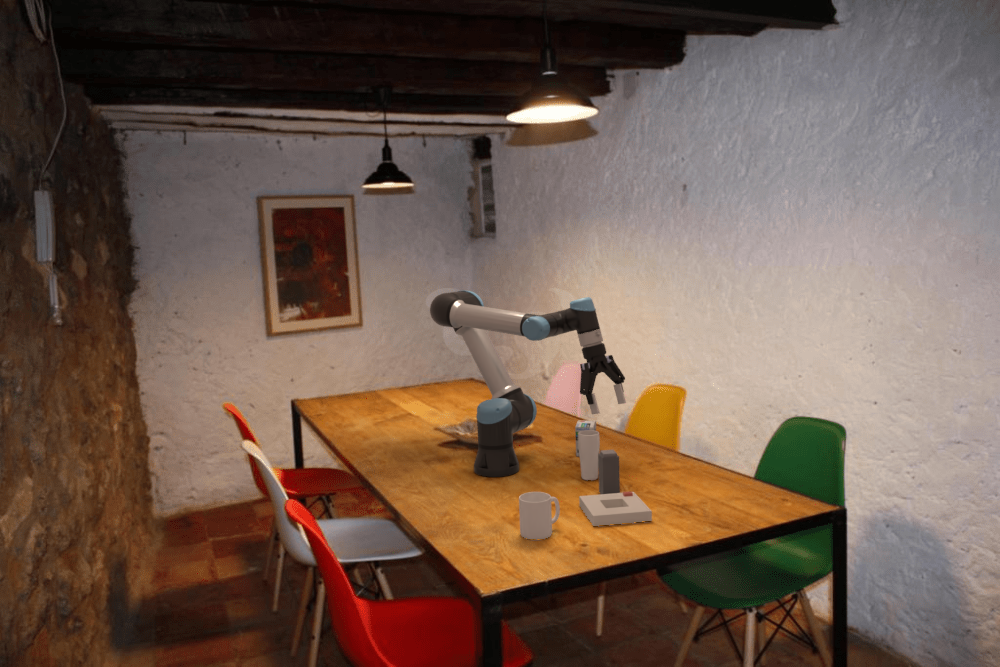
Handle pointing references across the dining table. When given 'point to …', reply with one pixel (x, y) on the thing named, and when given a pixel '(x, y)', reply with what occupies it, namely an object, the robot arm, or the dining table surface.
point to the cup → (537, 515)
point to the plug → (608, 472)
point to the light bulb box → (583, 426)
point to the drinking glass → (589, 453)
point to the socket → (614, 508)
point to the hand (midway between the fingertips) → (609, 408)
